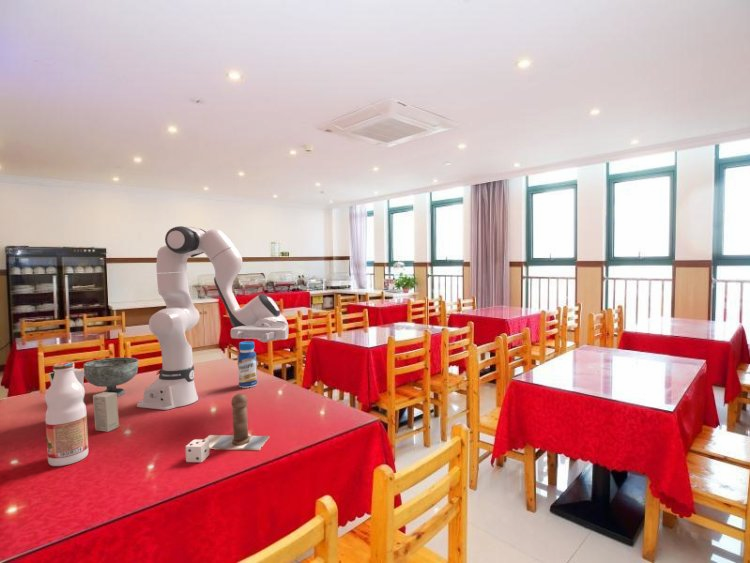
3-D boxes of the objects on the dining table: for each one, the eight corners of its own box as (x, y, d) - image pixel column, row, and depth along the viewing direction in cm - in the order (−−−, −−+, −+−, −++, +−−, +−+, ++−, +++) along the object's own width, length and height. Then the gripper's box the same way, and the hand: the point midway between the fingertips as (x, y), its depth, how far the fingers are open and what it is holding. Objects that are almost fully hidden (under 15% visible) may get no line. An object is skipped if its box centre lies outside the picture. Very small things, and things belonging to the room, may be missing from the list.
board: (194, 449, 121) (194, 447, 121) (209, 436, 130) (209, 434, 130) (259, 450, 119) (259, 448, 119) (269, 437, 128) (269, 435, 128)
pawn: (229, 445, 122) (227, 396, 121) (236, 437, 127) (234, 391, 126) (245, 445, 121) (244, 396, 121) (252, 438, 127) (250, 391, 126)
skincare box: (119, 427, 139) (117, 392, 138) (107, 432, 134) (105, 396, 134) (106, 425, 141) (104, 391, 140) (93, 430, 136) (92, 395, 136)
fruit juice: (72, 467, 111) (67, 367, 110) (39, 467, 112) (33, 368, 110) (96, 451, 121) (91, 359, 120) (65, 451, 121) (60, 359, 120)
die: (185, 462, 113) (184, 446, 112) (194, 454, 117) (194, 438, 117) (202, 463, 112) (201, 446, 112) (210, 454, 117) (209, 439, 117)
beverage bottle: (260, 382, 188) (259, 340, 187) (253, 388, 179) (251, 344, 178) (243, 382, 188) (241, 340, 187) (235, 388, 180) (233, 344, 179)
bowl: (147, 391, 177) (146, 358, 177) (99, 405, 161) (97, 368, 160) (125, 385, 188) (123, 353, 187) (77, 397, 172) (75, 362, 171)
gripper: (239, 321, 152) (222, 327, 139) (291, 322, 151) (280, 328, 137) (239, 337, 153) (222, 345, 139) (292, 338, 151) (280, 346, 137)
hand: (251, 336), depth 138 cm, fingers open, 8 cm apart
